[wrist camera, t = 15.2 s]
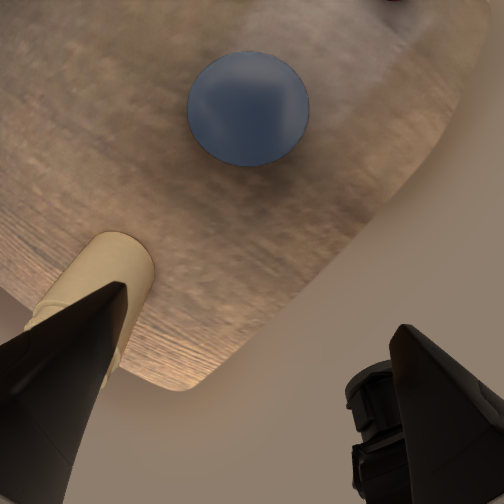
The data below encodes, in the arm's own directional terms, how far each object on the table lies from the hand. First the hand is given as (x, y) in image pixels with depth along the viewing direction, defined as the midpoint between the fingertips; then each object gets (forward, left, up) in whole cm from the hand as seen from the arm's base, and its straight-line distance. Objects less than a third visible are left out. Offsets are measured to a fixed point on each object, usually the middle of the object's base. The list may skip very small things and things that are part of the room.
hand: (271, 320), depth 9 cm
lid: (+2, -5, -11) cm, 12 cm away
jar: (+10, +8, -12) cm, 17 cm away
